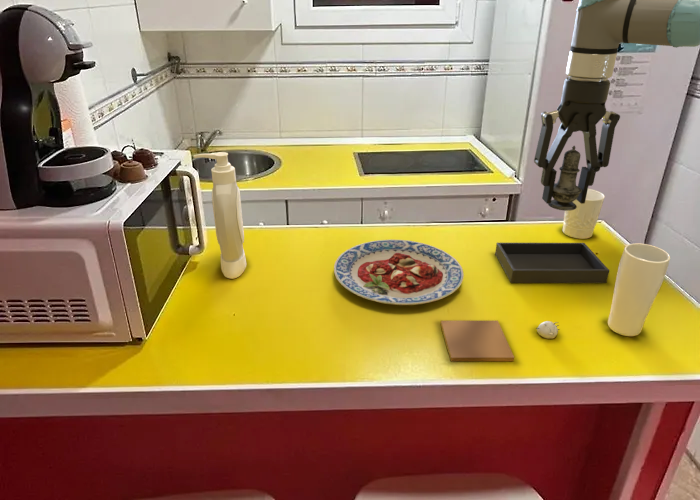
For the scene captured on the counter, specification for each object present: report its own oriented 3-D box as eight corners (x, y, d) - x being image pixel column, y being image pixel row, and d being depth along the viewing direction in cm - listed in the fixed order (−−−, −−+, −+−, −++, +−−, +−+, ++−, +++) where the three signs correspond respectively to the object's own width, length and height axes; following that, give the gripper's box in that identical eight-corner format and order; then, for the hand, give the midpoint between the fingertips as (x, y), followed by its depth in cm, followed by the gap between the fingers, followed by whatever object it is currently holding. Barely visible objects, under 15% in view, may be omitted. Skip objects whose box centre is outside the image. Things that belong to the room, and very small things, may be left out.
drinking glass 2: (608, 338, 88) (632, 260, 81) (597, 315, 93) (618, 241, 87) (651, 342, 87) (678, 264, 80) (637, 319, 93) (661, 244, 86)
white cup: (555, 225, 128) (563, 187, 123) (587, 226, 128) (597, 188, 123) (565, 239, 121) (574, 199, 116) (600, 240, 121) (610, 200, 116)
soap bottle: (212, 253, 113) (197, 144, 102) (248, 252, 114) (237, 143, 103) (205, 284, 102) (188, 165, 91) (245, 282, 103) (233, 163, 91)
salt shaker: (583, 211, 99) (596, 150, 94) (552, 211, 99) (564, 150, 94) (571, 199, 105) (583, 141, 99) (542, 199, 105) (552, 141, 99)
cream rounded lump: (562, 338, 87) (565, 325, 86) (539, 340, 87) (542, 327, 86) (552, 327, 90) (555, 315, 89) (531, 329, 90) (533, 316, 89)
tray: (581, 254, 114) (584, 242, 113) (606, 283, 104) (609, 270, 102) (494, 254, 114) (496, 242, 113) (510, 283, 103) (513, 270, 102)
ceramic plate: (405, 238, 121) (406, 226, 119) (490, 286, 102) (492, 273, 101) (310, 268, 108) (309, 255, 106) (386, 330, 89) (387, 316, 88)
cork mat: (497, 324, 91) (497, 320, 91) (513, 361, 82) (514, 357, 82) (440, 324, 91) (440, 320, 90) (450, 361, 82) (451, 357, 82)
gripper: (631, 74, 94) (602, 193, 105) (527, 74, 94) (509, 194, 105) (652, 81, 88) (620, 208, 98) (541, 81, 88) (520, 208, 98)
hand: (563, 200), depth 101 cm, fingers closed on salt shaker, 6 cm apart
